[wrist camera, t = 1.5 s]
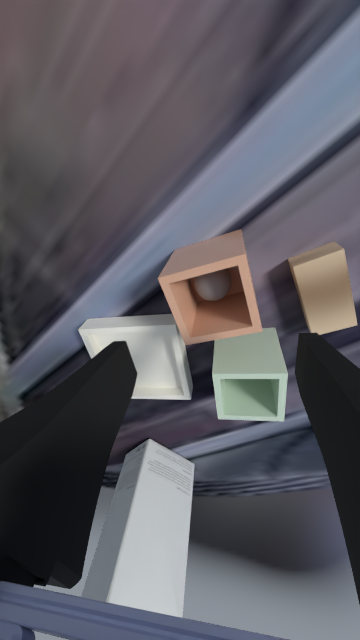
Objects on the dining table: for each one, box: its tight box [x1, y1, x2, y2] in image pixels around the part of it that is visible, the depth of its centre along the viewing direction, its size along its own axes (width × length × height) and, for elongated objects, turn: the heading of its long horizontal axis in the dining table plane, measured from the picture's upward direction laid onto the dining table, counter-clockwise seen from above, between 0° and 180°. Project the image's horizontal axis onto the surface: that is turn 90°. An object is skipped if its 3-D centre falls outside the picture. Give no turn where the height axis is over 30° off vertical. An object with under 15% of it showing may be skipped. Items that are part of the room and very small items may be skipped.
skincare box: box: [81, 439, 195, 618], centre depth 29 cm, size 8×7×16 cm
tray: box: [78, 314, 193, 400], centre depth 24 cm, size 9×9×2 cm
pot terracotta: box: [158, 229, 263, 345], centre depth 17 cm, size 5×5×6 cm
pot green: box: [212, 328, 288, 421], centre depth 20 cm, size 5×5×6 cm
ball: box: [195, 269, 231, 301], centre depth 18 cm, size 3×3×3 cm
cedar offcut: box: [288, 242, 357, 335], centre depth 18 cm, size 6×3×2 cm, turn 26°
